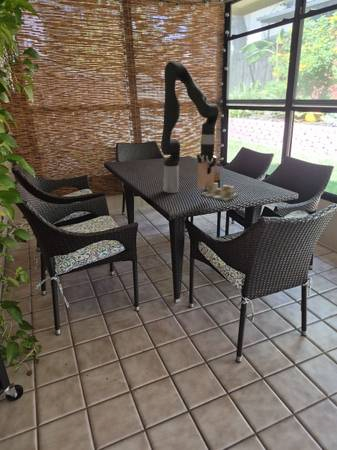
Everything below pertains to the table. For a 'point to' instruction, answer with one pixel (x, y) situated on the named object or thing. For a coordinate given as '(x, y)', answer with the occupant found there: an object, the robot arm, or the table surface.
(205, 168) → the terracotta slotted plate
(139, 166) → the table surface
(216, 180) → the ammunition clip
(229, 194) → the ash slotted base
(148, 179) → the table surface
